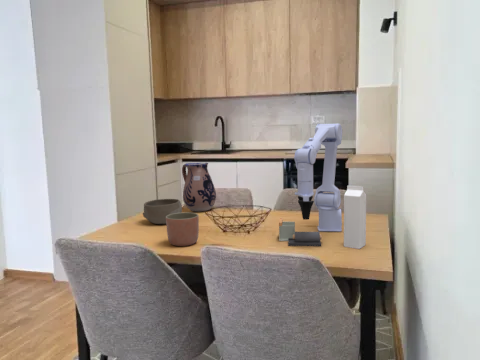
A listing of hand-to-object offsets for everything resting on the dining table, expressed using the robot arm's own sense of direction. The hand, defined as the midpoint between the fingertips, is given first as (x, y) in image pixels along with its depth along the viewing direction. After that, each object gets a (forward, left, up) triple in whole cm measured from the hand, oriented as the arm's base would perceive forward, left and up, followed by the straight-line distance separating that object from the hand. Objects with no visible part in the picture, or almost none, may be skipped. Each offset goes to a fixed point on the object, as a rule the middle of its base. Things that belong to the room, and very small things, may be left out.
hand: (305, 217), depth 159 cm
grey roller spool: (0, +2, -7) cm, 7 cm away
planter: (+47, +3, -10) cm, 48 cm away
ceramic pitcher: (+56, -61, -10) cm, 83 cm away
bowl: (+66, -32, -10) cm, 74 cm away
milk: (-17, +4, -10) cm, 20 cm away
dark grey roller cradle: (+1, +2, -10) cm, 10 cm away
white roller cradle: (+3, -6, -10) cm, 12 cm away
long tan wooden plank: (+9, -6, -4) cm, 12 cm away
